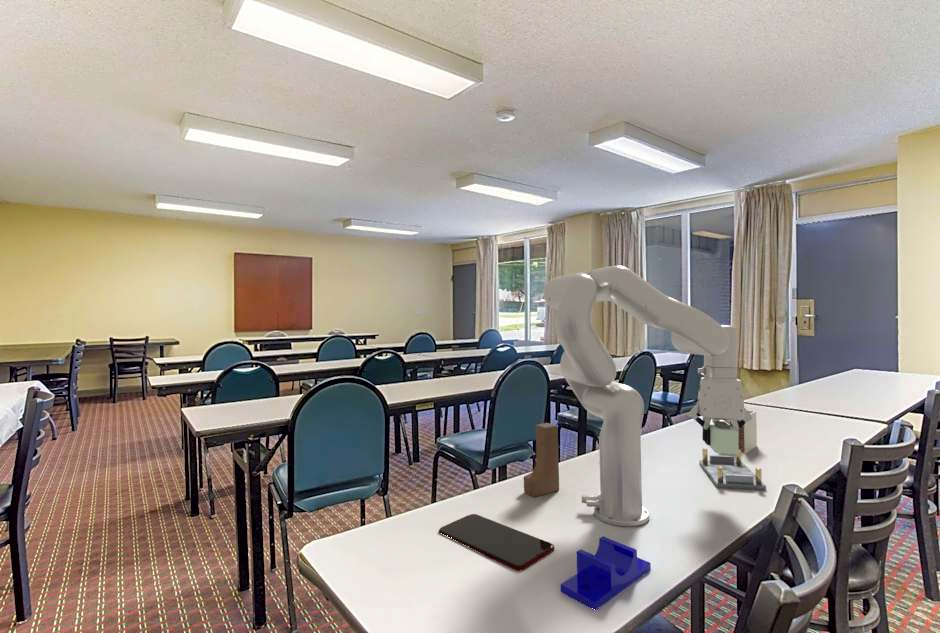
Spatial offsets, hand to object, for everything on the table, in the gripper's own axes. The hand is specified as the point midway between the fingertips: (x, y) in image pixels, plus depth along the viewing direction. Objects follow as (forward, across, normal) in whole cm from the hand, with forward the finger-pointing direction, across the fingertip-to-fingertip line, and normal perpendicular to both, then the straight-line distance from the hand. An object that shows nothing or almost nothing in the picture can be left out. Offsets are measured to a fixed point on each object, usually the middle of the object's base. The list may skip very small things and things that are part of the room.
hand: (719, 443), depth 122 cm
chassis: (+14, +8, +19) cm, 24 cm away
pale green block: (+1, 0, 0) cm, 1 cm away
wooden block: (+16, -45, -1) cm, 48 cm away
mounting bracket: (+17, -29, -42) cm, 54 cm away
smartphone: (+17, -53, -30) cm, 63 cm away
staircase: (+14, +18, +49) cm, 54 cm away
